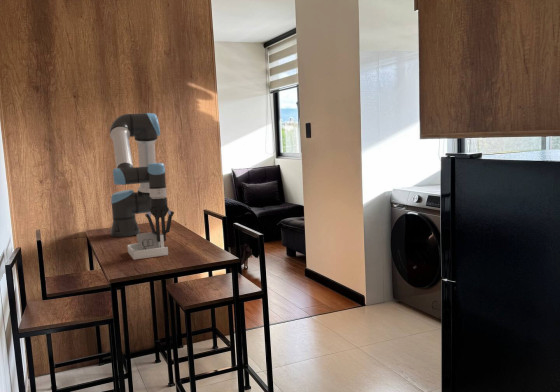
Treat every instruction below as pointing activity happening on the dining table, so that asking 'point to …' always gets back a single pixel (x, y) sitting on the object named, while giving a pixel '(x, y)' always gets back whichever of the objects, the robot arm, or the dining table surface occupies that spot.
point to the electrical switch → (147, 241)
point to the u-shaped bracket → (146, 251)
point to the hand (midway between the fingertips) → (162, 248)
